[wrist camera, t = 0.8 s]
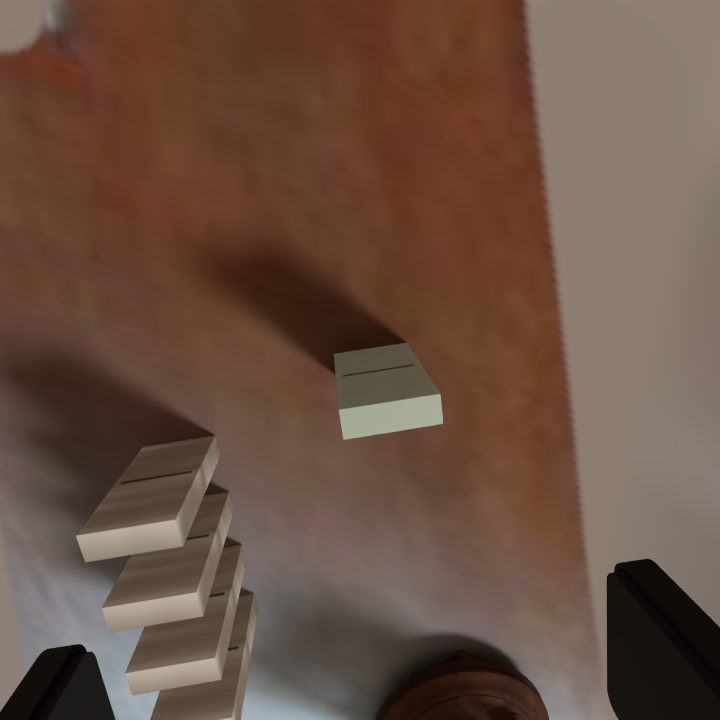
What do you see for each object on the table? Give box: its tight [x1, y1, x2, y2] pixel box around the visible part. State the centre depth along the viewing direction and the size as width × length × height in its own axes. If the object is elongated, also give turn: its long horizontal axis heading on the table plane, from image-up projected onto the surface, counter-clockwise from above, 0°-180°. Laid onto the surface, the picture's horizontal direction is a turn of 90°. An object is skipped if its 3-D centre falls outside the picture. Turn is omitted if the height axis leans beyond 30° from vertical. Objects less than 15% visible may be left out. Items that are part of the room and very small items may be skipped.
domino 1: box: [76, 435, 220, 562], centre depth 30 cm, size 2×5×10 cm, turn 98°
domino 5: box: [334, 343, 443, 440], centre depth 29 cm, size 2×5×10 cm, turn 98°
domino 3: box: [125, 544, 246, 695], centre depth 33 cm, size 2×5×10 cm, turn 98°
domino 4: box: [150, 593, 258, 720], centre depth 34 cm, size 2×5×10 cm, turn 98°
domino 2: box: [102, 492, 234, 632], centre depth 32 cm, size 2×5×10 cm, turn 98°
